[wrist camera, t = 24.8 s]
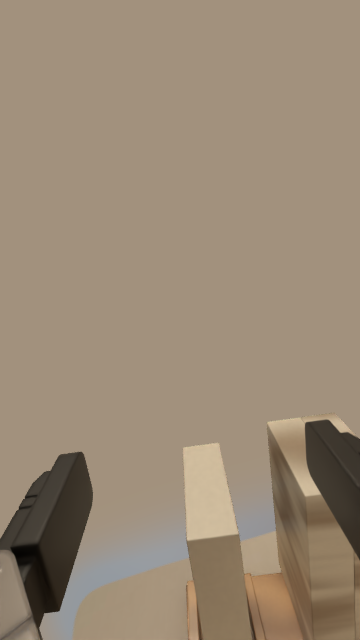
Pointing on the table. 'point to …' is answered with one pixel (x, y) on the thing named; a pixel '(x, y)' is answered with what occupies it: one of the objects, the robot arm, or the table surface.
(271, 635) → the wooden book rack
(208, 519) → the white book
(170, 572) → the table surface
